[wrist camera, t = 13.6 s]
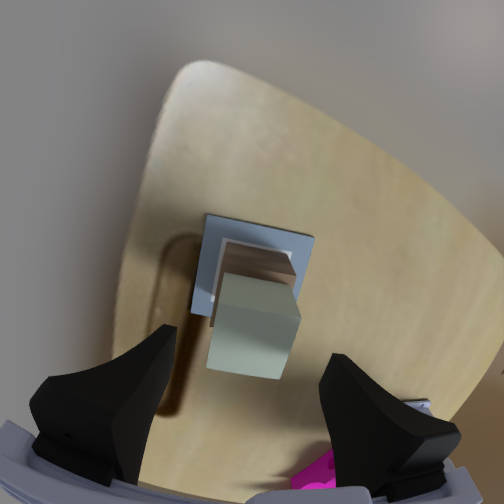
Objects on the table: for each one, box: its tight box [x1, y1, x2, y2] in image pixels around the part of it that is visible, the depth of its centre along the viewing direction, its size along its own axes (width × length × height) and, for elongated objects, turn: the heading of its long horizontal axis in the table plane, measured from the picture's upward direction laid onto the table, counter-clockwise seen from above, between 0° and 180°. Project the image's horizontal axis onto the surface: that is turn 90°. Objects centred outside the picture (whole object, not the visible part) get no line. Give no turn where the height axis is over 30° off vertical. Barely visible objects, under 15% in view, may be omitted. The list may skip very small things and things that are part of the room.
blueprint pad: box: [191, 214, 315, 317], centre depth 22 cm, size 8×8×1 cm
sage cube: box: [206, 272, 301, 380], centre depth 16 cm, size 4×4×4 cm
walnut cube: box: [209, 242, 297, 327], centre depth 20 cm, size 4×4×4 cm
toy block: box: [291, 449, 336, 490], centre depth 28 cm, size 15×6×8 cm, turn 149°
